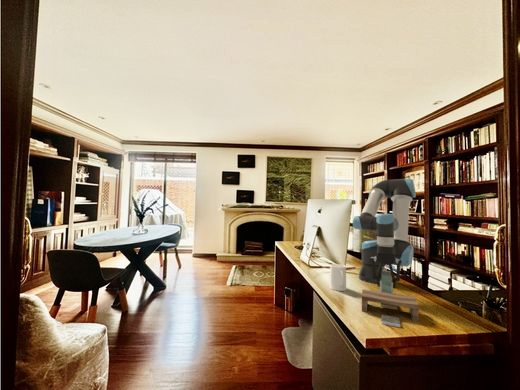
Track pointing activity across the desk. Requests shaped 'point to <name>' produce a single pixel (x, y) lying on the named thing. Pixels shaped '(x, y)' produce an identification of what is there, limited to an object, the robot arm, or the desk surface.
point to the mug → (338, 277)
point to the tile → (390, 321)
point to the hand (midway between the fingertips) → (386, 294)
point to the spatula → (386, 287)
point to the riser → (391, 301)
